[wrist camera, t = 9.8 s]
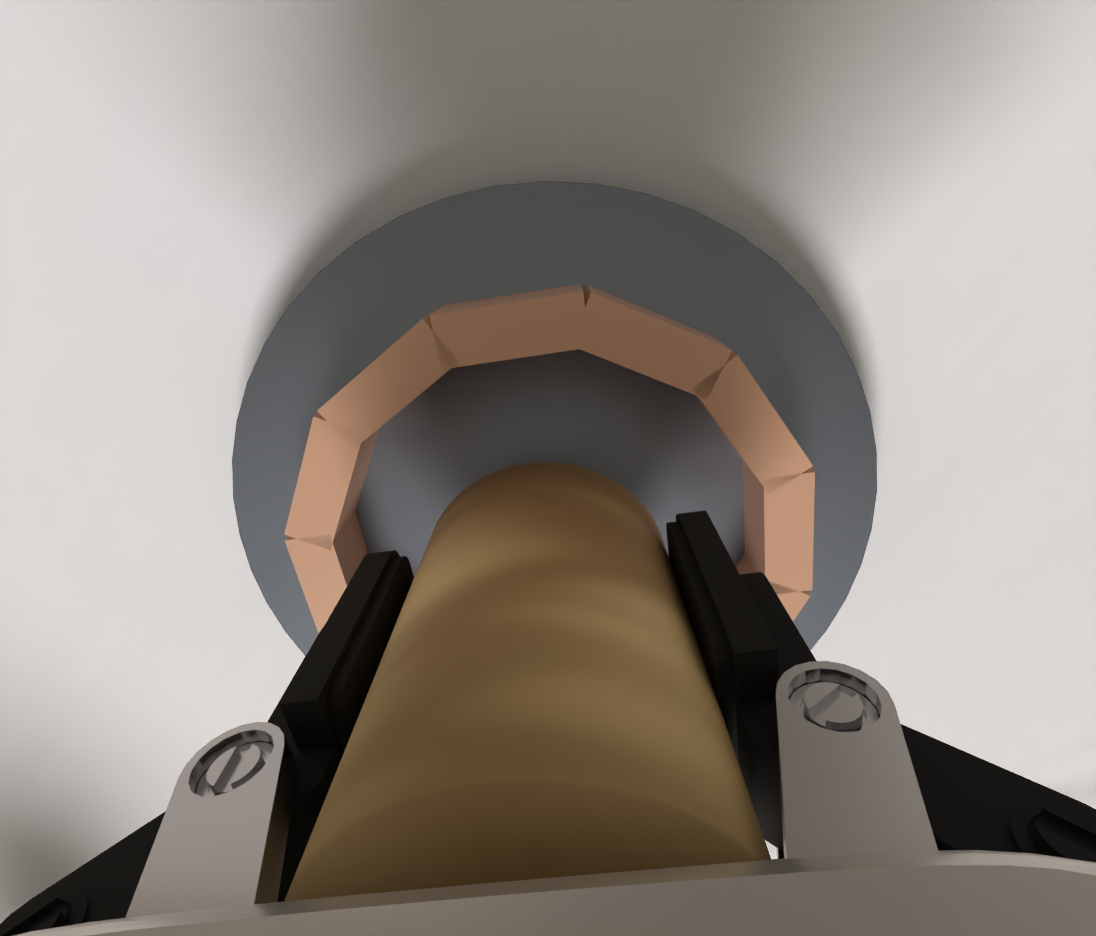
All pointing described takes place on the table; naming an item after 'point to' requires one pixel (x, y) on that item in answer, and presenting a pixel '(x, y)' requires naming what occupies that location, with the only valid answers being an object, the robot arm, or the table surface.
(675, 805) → the wooden bead
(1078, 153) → the table surface
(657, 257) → the ring tray
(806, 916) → the robot arm
